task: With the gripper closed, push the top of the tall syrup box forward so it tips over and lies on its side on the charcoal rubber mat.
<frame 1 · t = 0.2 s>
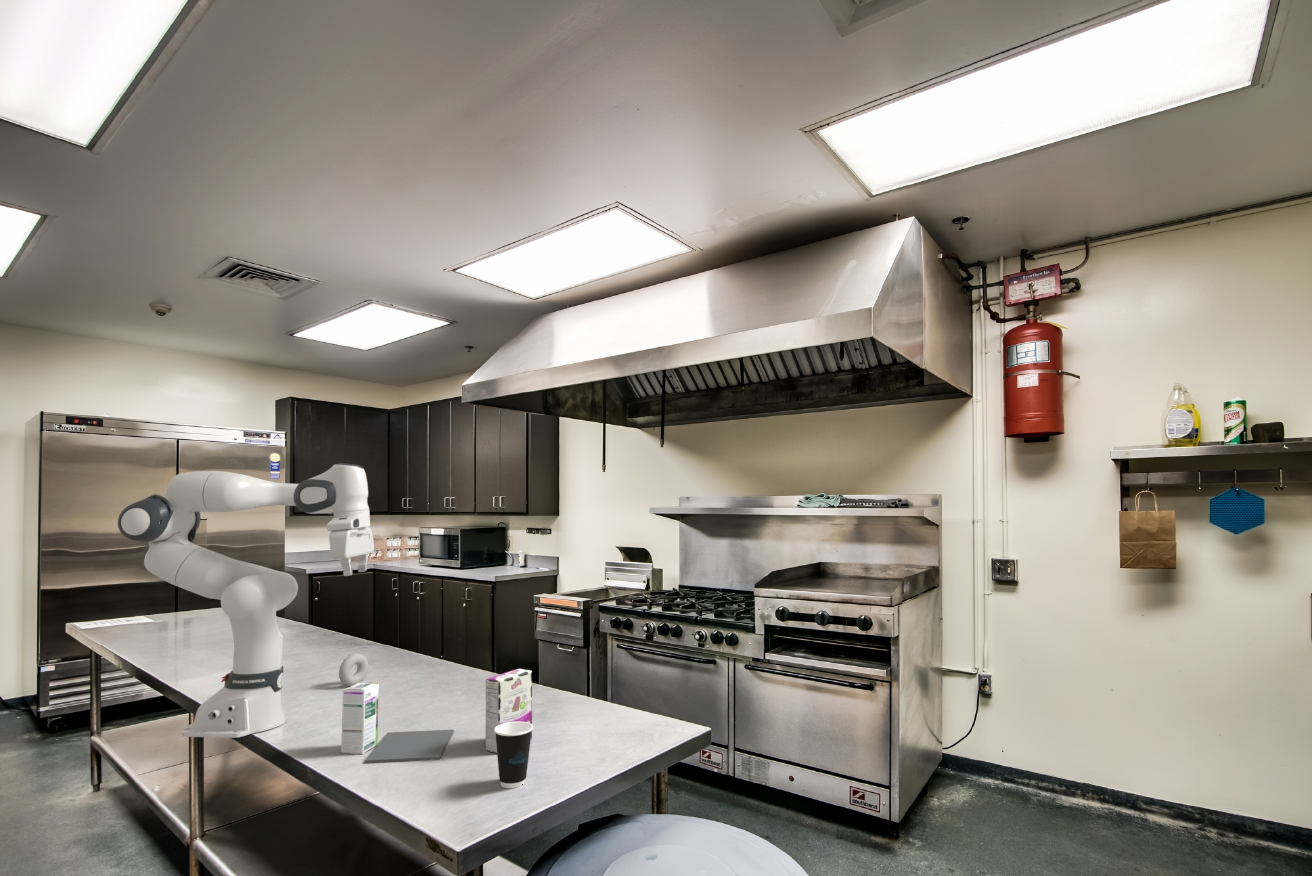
hand: (355, 573, 175), 39 cm above the table, tool pointing down, fingers open, 8 cm apart
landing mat: (412, 746, 153), on the table
donut: (353, 686, 206), on the table
candy bar box: (508, 746, 154), on the table
dixie cup: (512, 784, 133), on the table
syrup box: (359, 750, 152), on the table
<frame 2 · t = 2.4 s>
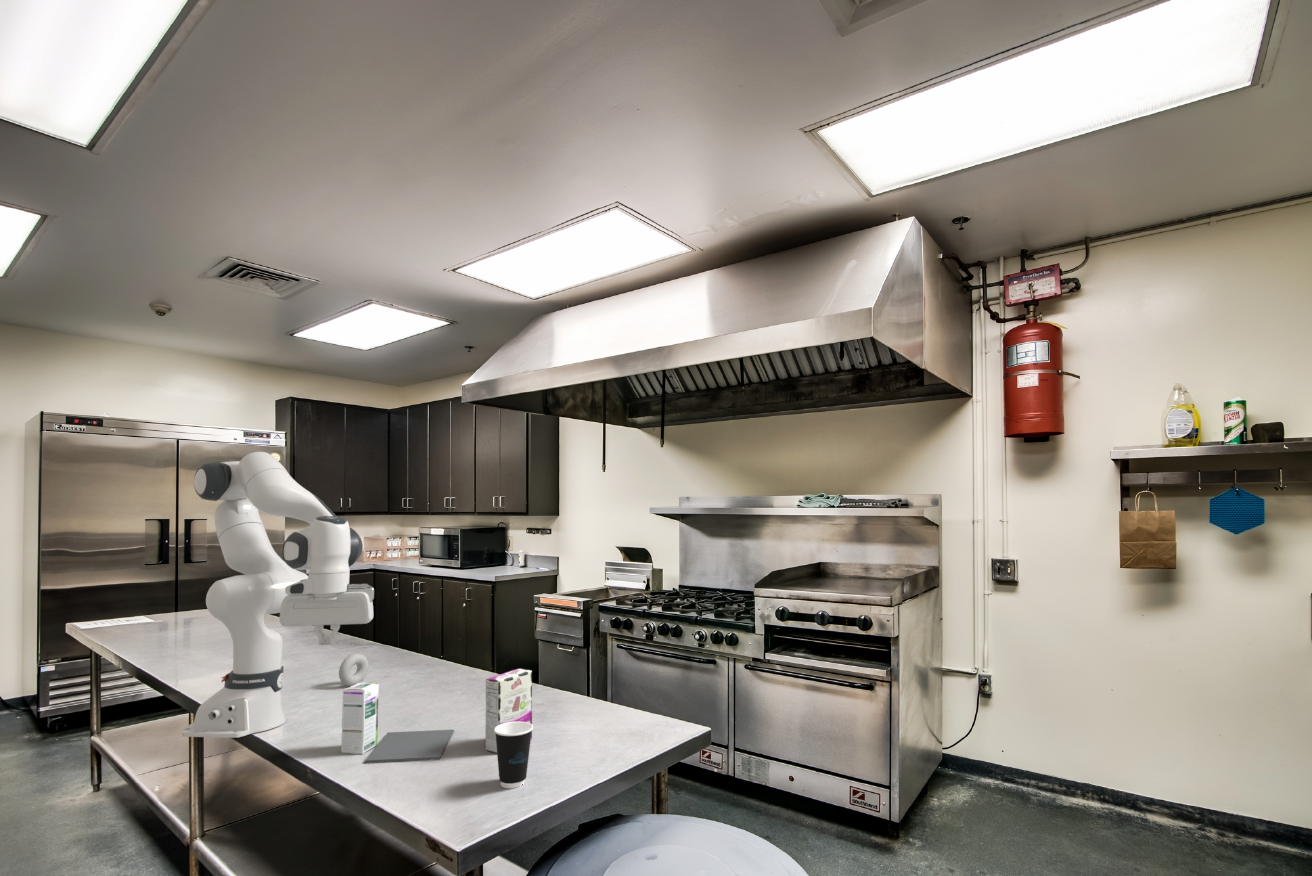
hand: (326, 644, 153), 24 cm above the table, tool pointing down, fingers closed
nothing on the table moved.
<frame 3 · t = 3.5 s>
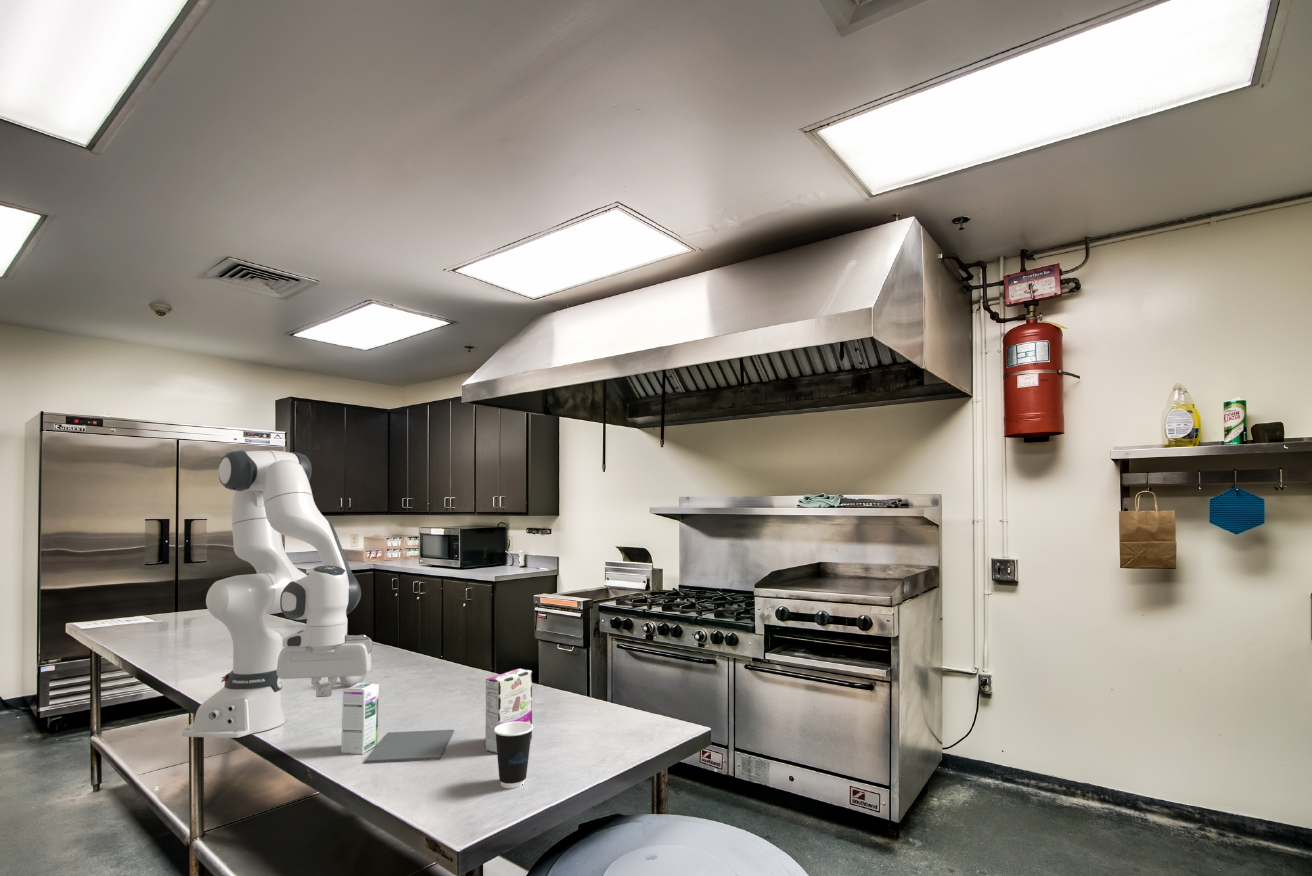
hand: (323, 696, 152), 12 cm above the table, tool pointing down, fingers closed
nothing on the table moved.
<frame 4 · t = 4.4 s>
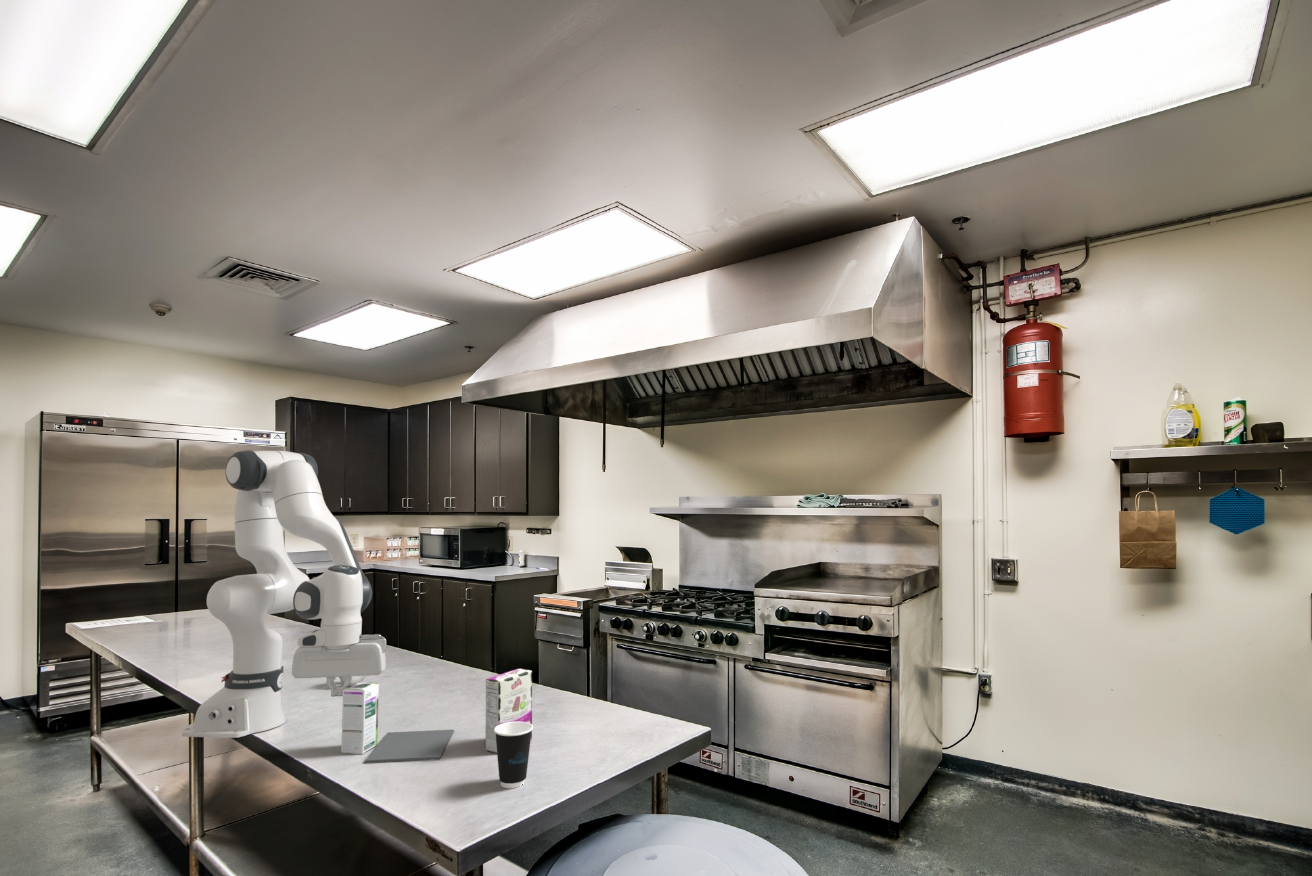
hand: (338, 695, 152), 12 cm above the table, tool pointing down, fingers closed
syrup box: (359, 750, 152), on the table, touching gripper
everything else where it was.
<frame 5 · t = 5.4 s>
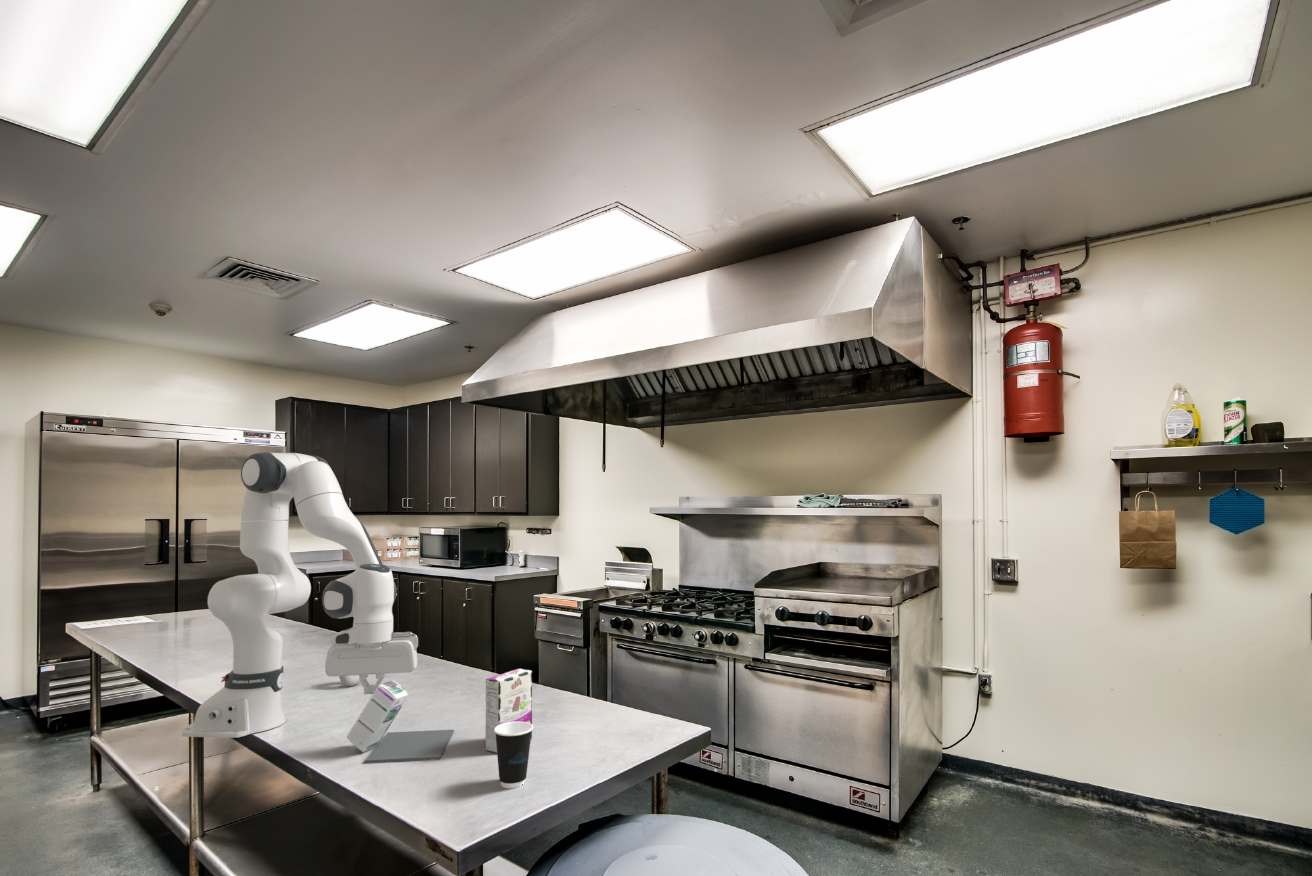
hand: (371, 693, 153), 13 cm above the table, tool pointing down, fingers closed
syrup box: (360, 742, 152), point 2 cm above the table, touching gripper
everything else where it was.
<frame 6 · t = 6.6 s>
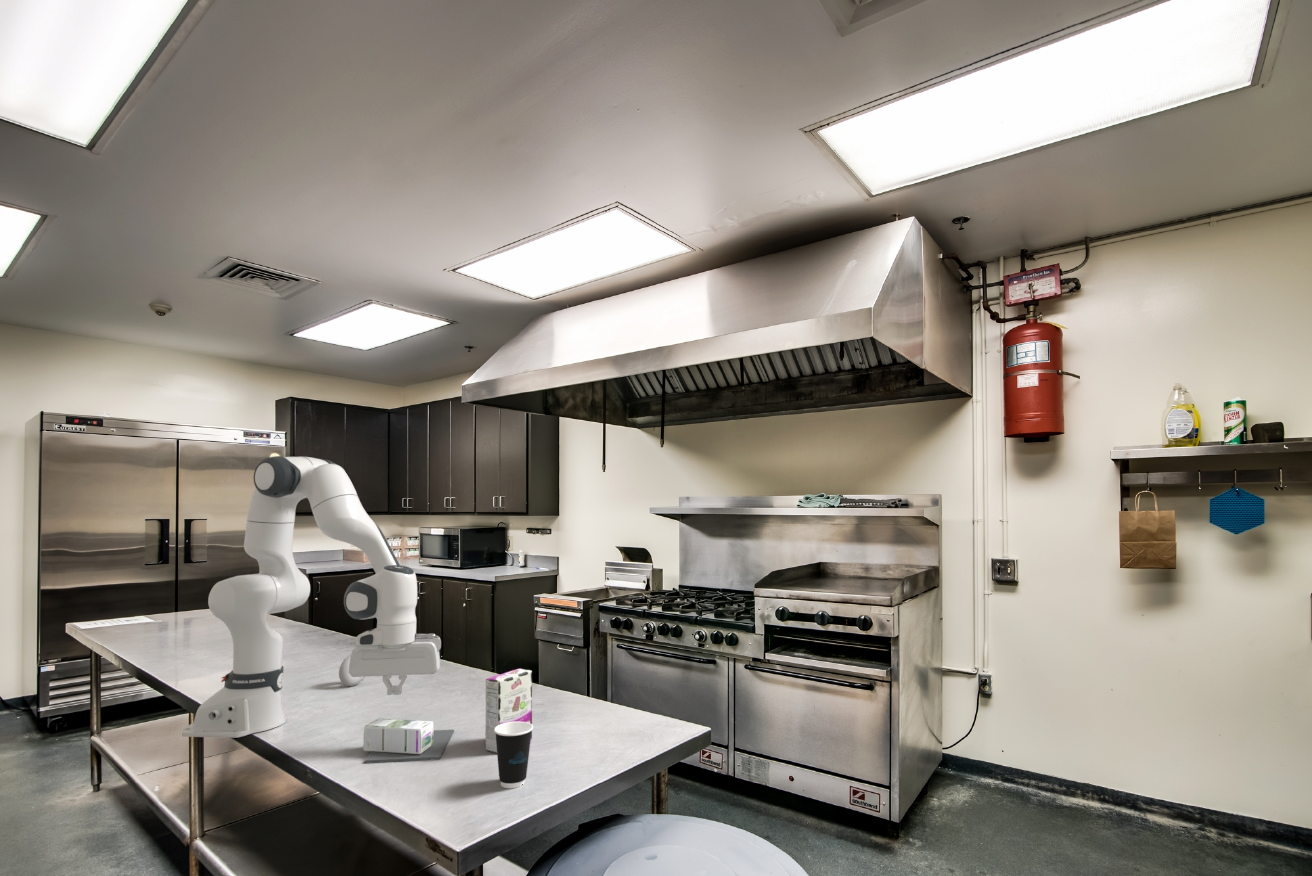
hand: (394, 694, 154), 12 cm above the table, tool pointing down, fingers closed
syrup box: (369, 733, 152), point 4 cm above the table, touching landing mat
everything else where it was.
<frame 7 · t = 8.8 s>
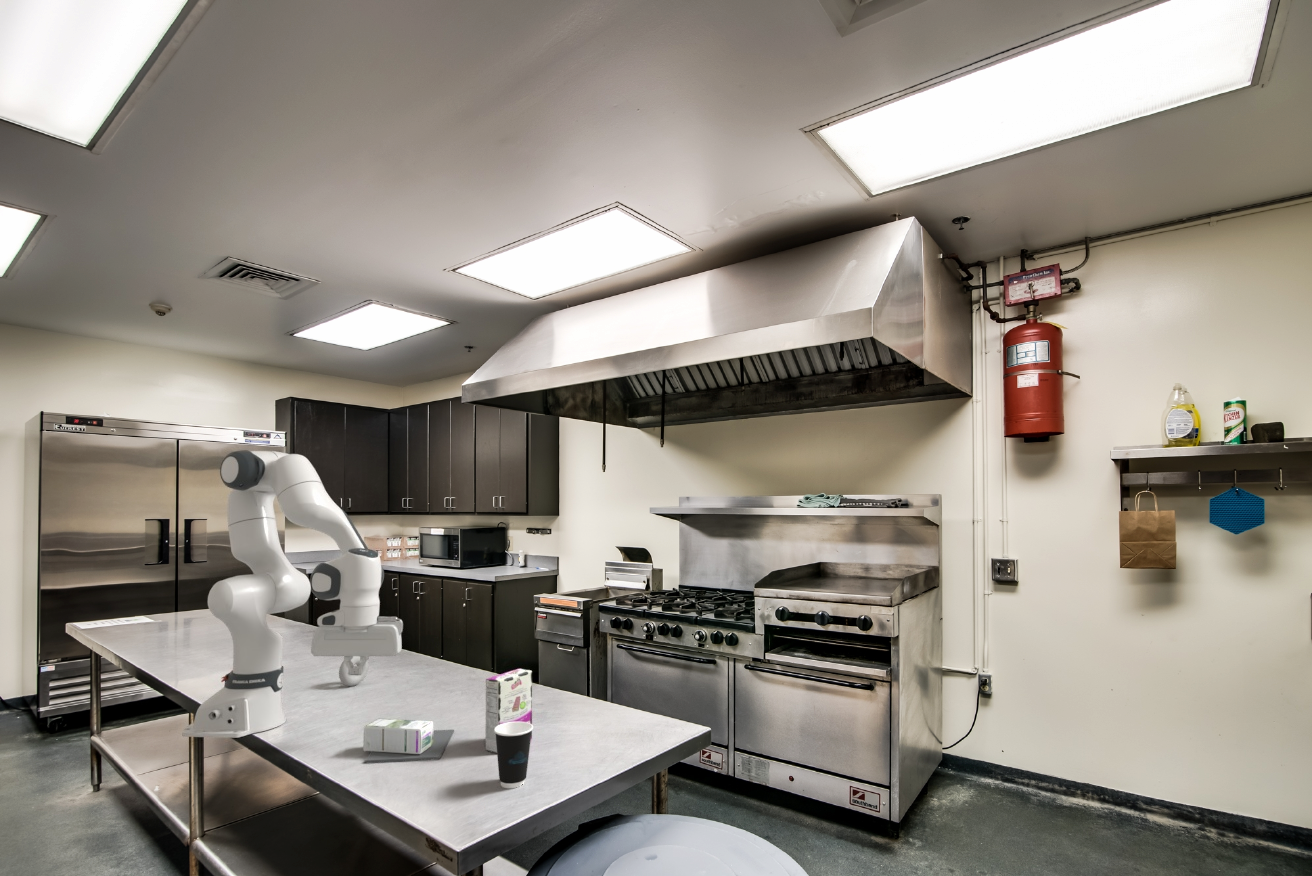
hand: (355, 674, 157), 16 cm above the table, tool pointing down, fingers closed
nothing on the table moved.
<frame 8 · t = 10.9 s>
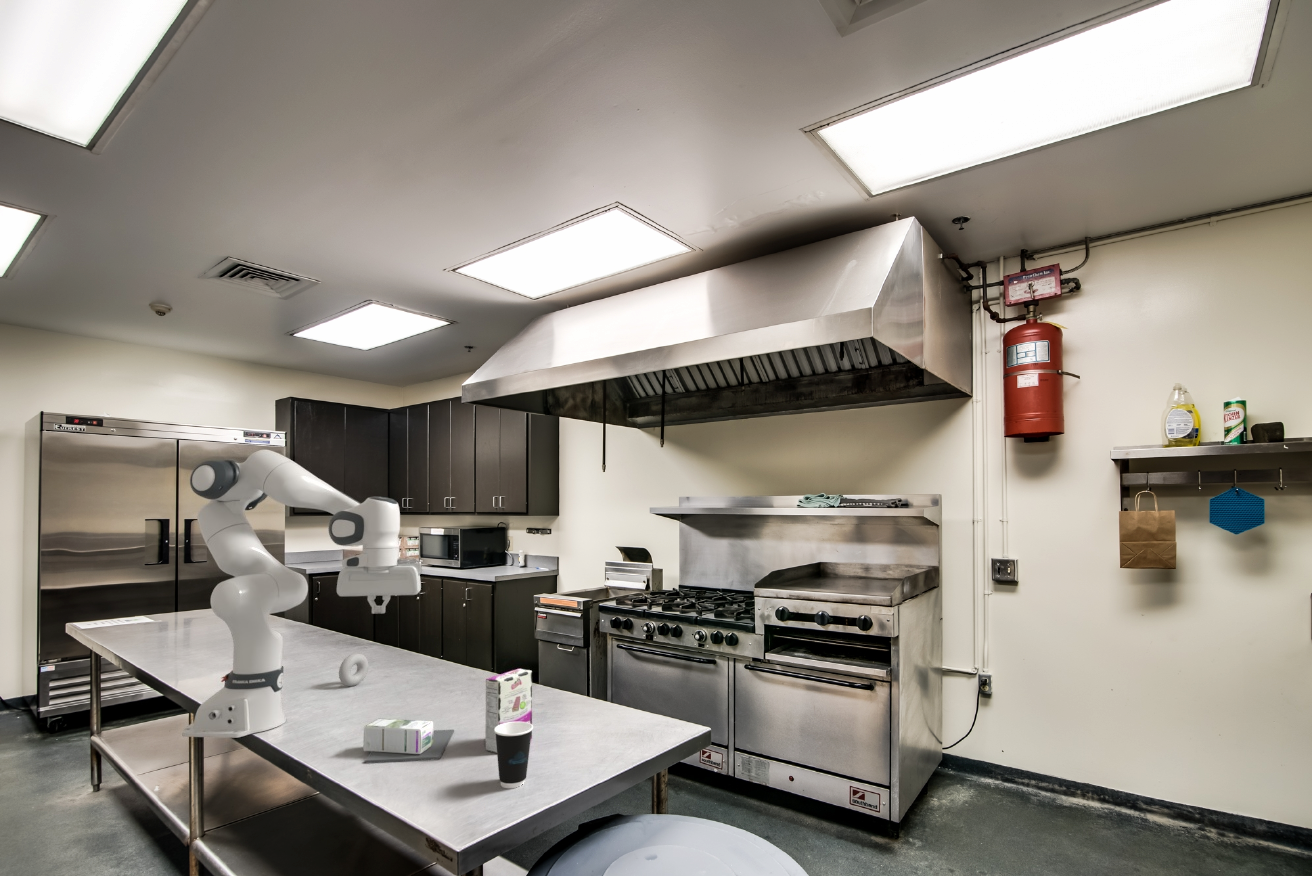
hand: (378, 613, 168), 29 cm above the table, tool pointing down, fingers closed
nothing on the table moved.
at the end: syrup box tilted 90°; syrup box inside the target area (2.1 cm from its centre), point 3.6 cm above the table; the gripper is holding nothing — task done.
